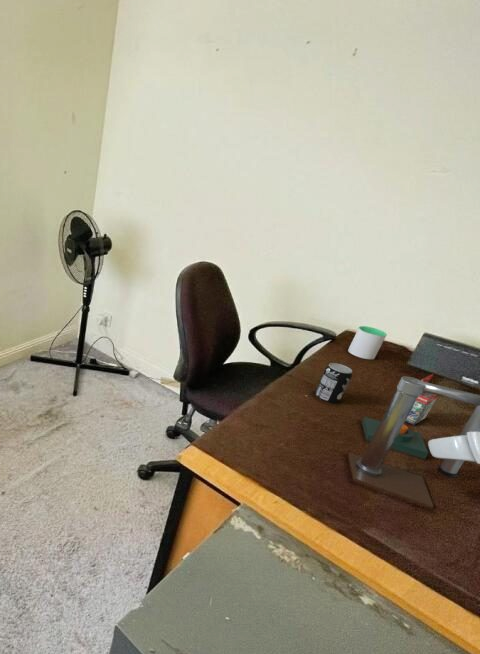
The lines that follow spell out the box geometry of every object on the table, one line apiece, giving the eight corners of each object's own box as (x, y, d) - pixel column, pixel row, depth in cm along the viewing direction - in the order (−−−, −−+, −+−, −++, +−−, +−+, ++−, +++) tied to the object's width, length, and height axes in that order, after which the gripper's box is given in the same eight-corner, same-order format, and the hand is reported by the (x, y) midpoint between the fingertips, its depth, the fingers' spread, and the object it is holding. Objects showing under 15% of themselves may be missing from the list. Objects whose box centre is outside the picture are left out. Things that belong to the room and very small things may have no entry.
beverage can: (336, 396, 136) (351, 366, 131) (340, 407, 131) (356, 375, 126) (312, 390, 139) (325, 360, 134) (315, 400, 134) (329, 369, 129)
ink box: (425, 418, 126) (450, 379, 120) (414, 425, 123) (438, 385, 117) (410, 411, 129) (432, 372, 123) (398, 418, 126) (421, 378, 120)
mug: (354, 344, 169) (365, 322, 165) (380, 352, 163) (391, 330, 159) (345, 352, 163) (356, 329, 159) (371, 361, 157) (383, 337, 153)
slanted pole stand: (419, 481, 103) (469, 397, 93) (430, 511, 95) (487, 422, 85) (347, 457, 111) (386, 377, 101) (352, 482, 103) (395, 398, 92)
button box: (416, 438, 118) (422, 427, 116) (425, 459, 110) (431, 447, 109) (361, 422, 124) (366, 411, 123) (366, 440, 117) (371, 429, 115)
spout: (453, 470, 96) (499, 396, 88) (458, 481, 93) (506, 406, 85) (365, 442, 104) (400, 373, 96) (367, 452, 102) (404, 381, 93)
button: (404, 428, 116) (406, 424, 115) (406, 435, 113) (409, 430, 113) (386, 423, 118) (389, 419, 117) (389, 430, 115) (391, 425, 115)
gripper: (577, 438, 81) (499, 442, 94) (464, 430, 83) (402, 435, 96) (593, 472, 79) (510, 471, 92) (476, 463, 81) (411, 464, 94)
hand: (454, 453), depth 94 cm, fingers closed on spout, 2 cm apart
